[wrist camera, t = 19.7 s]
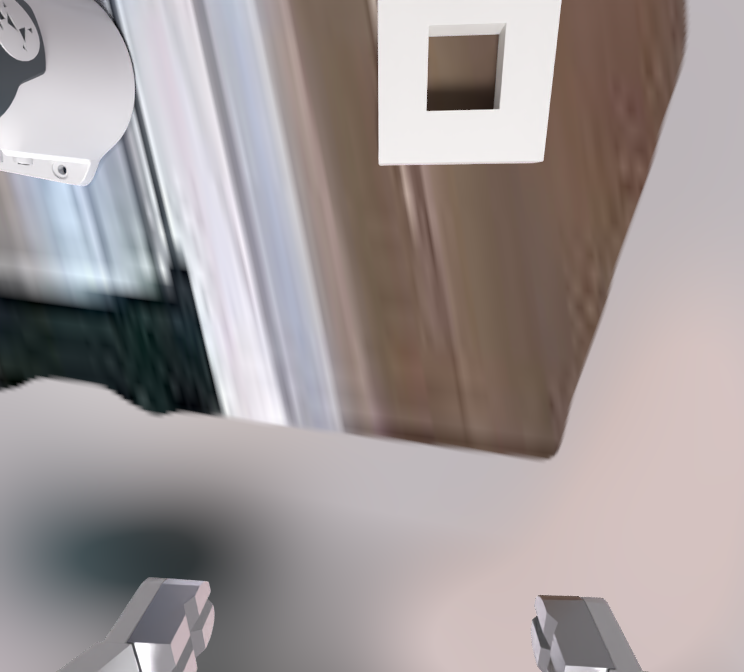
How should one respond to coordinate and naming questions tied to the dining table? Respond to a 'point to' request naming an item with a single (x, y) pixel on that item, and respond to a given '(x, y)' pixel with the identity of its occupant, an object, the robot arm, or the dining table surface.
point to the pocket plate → (465, 127)
